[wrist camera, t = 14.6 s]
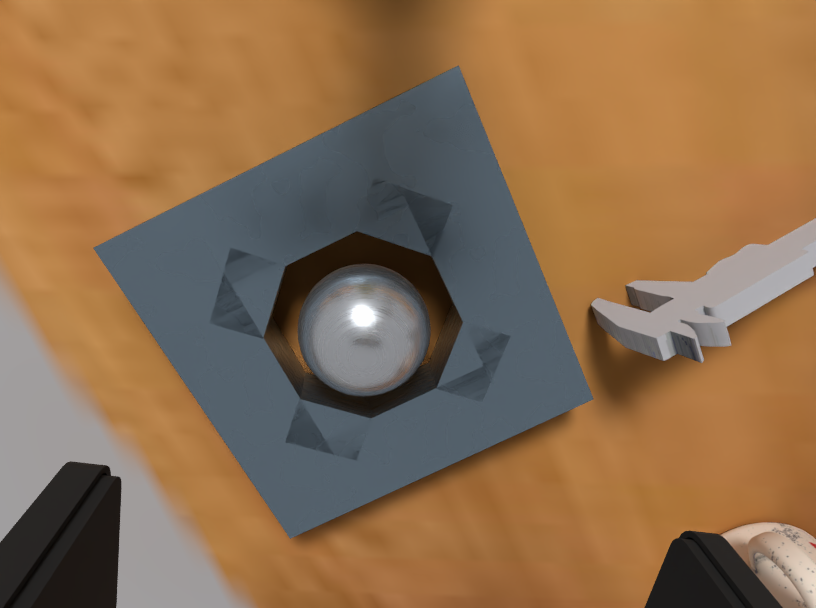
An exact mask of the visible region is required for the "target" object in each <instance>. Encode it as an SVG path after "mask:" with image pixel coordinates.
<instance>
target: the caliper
mask: <svg viewBox="0 0 816 608" xmlns="http://www.w3.org/2000/svg"><path fill="white" fill-rule="evenodd" d="M815 266H816V218H815V219H813V220H812V221H810V222H808V223H806V224H805V225H803V226H801V227H799V228H797V229H796V230H794V231H792V232H790V233H789V234H787V235H785V236H783V237H781V238H780V239H778V240H776V241H774V242H773V243H771V244H769V245H760V244H749V245H746V246H745V247H743V248H742V249H741V250H739V251H738V252H737V253H736V254H734V255H732V256H730V257H727V258H725V259H722V260H720V261H719V262H717V263H716V264H715V265H714V266H713V267H712V268H711V269H710V270H709V271H707V272H706V274H707V275H705V276H703V277H701V278H700V279H698V280H696V281H694V282H676V281H640V280H637V281H634V282H632V283H630V284H627V285H625V286H626V289H627V292H628V295H629V298H630V301H631V304H632V305H635V306H639V307H640V308H641V309H644V310H647V311H651V313H649V312H646V311H642V310H638V309H635V308H631V307H627V306H624V305H620V304H617V303H613V302H609V301H606V300H603V299H600V298H597V299H596V300H594V301H593V302H592V304H591V306H592V309H593V312H594V314H595V317H596V320H597V323H598V325H600V326H601V327H602V328H603V329H604V330H605V331H606V332H607V333H609V334H610V335H611V336H612V337H614V338H615V339H616V340H617V341H618V342H620V343H621V344H622V345H623V346H625V347H626V348H629V349H631V350H634V351H637V352H640V353H643V354H645V355H648V356H651V357H654V358H657V359H659V360H662V361H665V360H667V359H669V358H671V357H672V356H674V355H676V354H679V355H682V356H685V357H687V358H690V359H693V360H695V361H698V362H701V363H702V362H703V361H704V359H703V355H702V352H701V348H700V346H731V341H730V338H729V334H728V330H727V326H729V325H731V324H732V323H734V322H736V321H737V320H739V319H741V318H742V317H744V316H746V315H747V314H749V313H751V312H753V311H754V310H756V309H758V308H759V307H761V306H763V305H764V304H766V303H768V302H769V301H771V300H773V299H774V298H776V297H778V296H779V295H781V294H783V293H784V292H786V291H788V290H790V289H791V288H793V287H795V286H796V285H798V284H800V283H801V282H803V281H805V280H806V279H808V278H810V277H811V276H813V275H814V273H813V267H815Z"/></svg>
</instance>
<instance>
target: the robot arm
mask: <svg viewBox="0 0 816 608" xmlns="http://www.w3.org/2000/svg"><path fill="white" fill-rule="evenodd" d="M120 506H121V479H120V477H116V476H111V472H110V468H109V467H108V466H106V465H97V464H88V463H78V462H68V463H66V464H65V465H64V466H63V467H62V468H61V469H60V471H59V472H58V473H57V474H56V475H55V477H54V478H53V479H52V480H51V482H50V483H49V484H48V485H47V486H46V488H45V489H44V490H43V491H42V493H41V494H40V495H39V496H38V497H37V499H36V500H35V501H34V502H33V503H32V505H31V506H30V507H29V509H28V510H27V511H26V512H25V513H24V514H23V516H22V517H21V518H20V519H19V520H18V522H17V523H16V524H15V525H14V527H13V528H12V529H11V530H10V531H9V533H8V534H7V535H6V536H5V538H4V539H3V540H2V541H1V542H0V608H116V602H117V576H118V554H119V530H120ZM645 608H783V607H782V606H781V605H780V603H779V602H778V601H777V600H776V599H775V597H774V596H773V595H772V594H771V593H770V592H769V590H768V589H767V588H766V587H765V586H764V584H763V583H762V582H761V581H760V580H759V578H758V577H757V576H756V575H755V574H754V572H753V571H752V570H751V569H750V568H749V566H748V565H747V564H746V563H745V562H744V560H743V559H742V558H741V557H740V556H739V554H738V553H737V552H736V551H735V550H734V548H733V547H732V546H731V545H730V544H729V542H728V541H727V540H726V539H725V538H724V537H723V536H721V535H718V534H713V533H705V532H696V531H685V532H684V533H682V534H681V535H680V537H679V538H677V539H675V540H673V541H672V543H671V545H670V547H669V550H668V552H667V554H666V557H665V559H664V562H663V564H662V567H661V569H660V571H659V574H658V576H657V579H656V581H655V584H654V586H653V589H652V591H651V593H650V596H649V598H648V601H647V603H646V606H645Z"/></svg>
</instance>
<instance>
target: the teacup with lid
mask: <svg viewBox="0 0 816 608" xmlns="http://www.w3.org/2000/svg"><path fill="white" fill-rule="evenodd" d="M721 536H723V537H724V538H725V539H726V540H727V541H728V542H729V544H730V545H731V546H732V547H733V548H734V550H735V551H736V552H737V553H738V554H739V556H740V557H741V558H742V559H743V560H744V562H745V563H746V564H747V565H748V566H749V568H750V569H751V570H752V571H753V572H754V574H755V575H756V576H757V577H758V578H759V580H760V581H761V582H762V583H763V584H764V586H765V587H766V588H767V589H768V590H769V592H770V593H771V594H772V595H773V596H774V597H775V599H776V600H777V601H778V602H779V603H780V605H781V606H782V607H783V608H816V539H815V538H814V537H813V536H811V535H810V534H808V533H807V532H805V531H803V530H802V529H799V528H797V527H794V526H791V525H788V524H783V523H774V522H761V523H753V524H748V525H744V526H740V527H737V528H734V529H732V530H729V531H727V532H725V533H723V534H721Z"/></svg>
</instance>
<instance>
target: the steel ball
mask: <svg viewBox="0 0 816 608" xmlns="http://www.w3.org/2000/svg"><path fill="white" fill-rule="evenodd" d="M430 330H431V327H430V319H429V314H428V310H427V307H426V305H425V302H424V300H423V298H422V297H421V295H420V293H419V292H418V290H417V289H416V288H415V287H414V285H413V284H412V283H410V282H409V281H408V280H407V279H406V278H405V277H403V276H402V275H400V274H399V273H397V272H395V271H393V270H392V269H389V268H386V267H384V266H379V265H375V264H355V265H349V266H345V267H342V268H340V269H337V270H335V271H333V272H332V273H330V274H328V275H327V276H325V277H324V278H323V279H321V280H320V281H319V282H318V283H317V284H316V285H315V286H314V287H313V288H312V290H311V291H310V293H309V294H308V296H307V298H306V299H305V301H304V303H303V305H302V308H301V311H300V315H299V320H298V341H299V345H300V350H301V352H302V355H303V358H304V360H305V361H306V363H307V365H308V366H309V368H310V369H311V371H312V372H313V373H314V374H315V375H316V376H317V378H318V379H320V380H321V381H322V382H323V383H324V384H326V385H327V386H329V387H331V388H333V389H335V390H337V391H339V392H342V393H345V394H348V395H353V396H374V395H380V394H383V393H386V392H389V391H391V390H393V389H395V388H397V387H399V386H401V385H402V384H403V383H405V382H406V381H407V380H408V379H409V378H410V377H411V376H412V375H413V374H414V373H415V372H416V371H417V369H418V368H419V366H420V365H421V363H422V362H423V360H424V357H425V355H426V353H427V349H428V346H429V341H430Z"/></svg>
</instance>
